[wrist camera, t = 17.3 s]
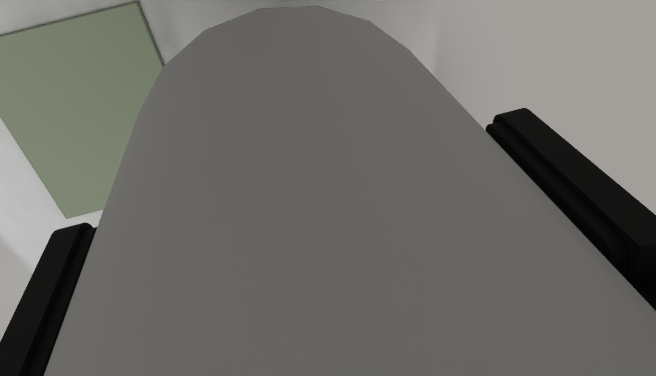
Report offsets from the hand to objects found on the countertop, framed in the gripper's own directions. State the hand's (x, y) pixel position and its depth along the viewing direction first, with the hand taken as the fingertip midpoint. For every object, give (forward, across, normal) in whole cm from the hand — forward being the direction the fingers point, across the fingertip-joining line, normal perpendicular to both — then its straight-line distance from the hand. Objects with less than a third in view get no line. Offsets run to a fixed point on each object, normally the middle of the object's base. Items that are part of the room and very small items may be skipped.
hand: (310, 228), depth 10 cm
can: (+4, 0, 0) cm, 4 cm away
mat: (+22, +12, +5) cm, 25 cm away
